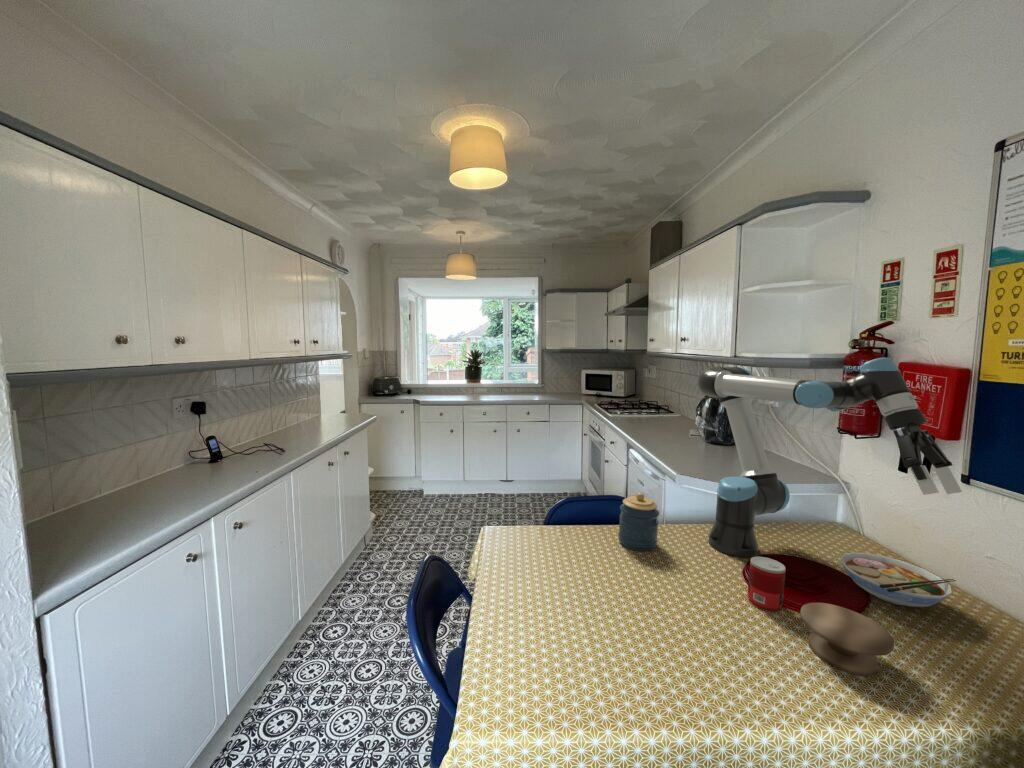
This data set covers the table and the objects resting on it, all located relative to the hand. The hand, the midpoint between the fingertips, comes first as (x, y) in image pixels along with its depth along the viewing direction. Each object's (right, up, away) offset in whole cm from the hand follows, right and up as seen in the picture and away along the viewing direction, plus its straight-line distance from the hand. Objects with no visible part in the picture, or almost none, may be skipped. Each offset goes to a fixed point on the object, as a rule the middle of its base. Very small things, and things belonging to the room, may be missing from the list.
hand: (943, 493), depth 101 cm
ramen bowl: (-1, -33, +13) cm, 35 cm away
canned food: (-39, -32, +9) cm, 51 cm away
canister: (-63, -28, +41) cm, 80 cm away
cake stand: (-33, -33, -10) cm, 48 cm away
